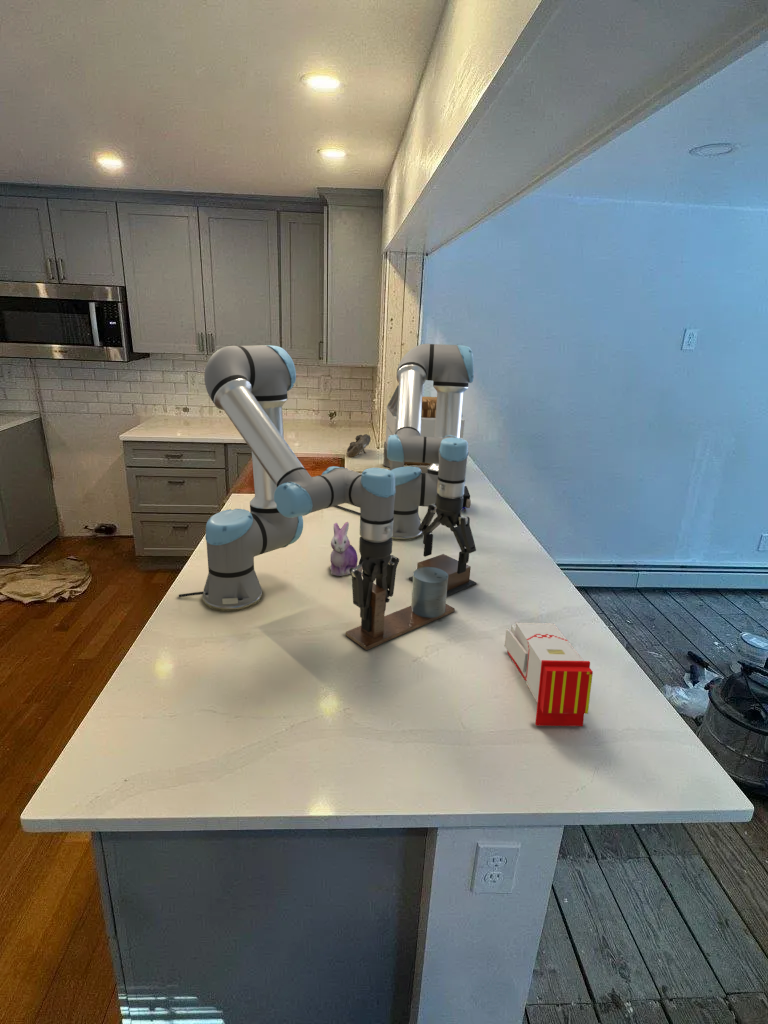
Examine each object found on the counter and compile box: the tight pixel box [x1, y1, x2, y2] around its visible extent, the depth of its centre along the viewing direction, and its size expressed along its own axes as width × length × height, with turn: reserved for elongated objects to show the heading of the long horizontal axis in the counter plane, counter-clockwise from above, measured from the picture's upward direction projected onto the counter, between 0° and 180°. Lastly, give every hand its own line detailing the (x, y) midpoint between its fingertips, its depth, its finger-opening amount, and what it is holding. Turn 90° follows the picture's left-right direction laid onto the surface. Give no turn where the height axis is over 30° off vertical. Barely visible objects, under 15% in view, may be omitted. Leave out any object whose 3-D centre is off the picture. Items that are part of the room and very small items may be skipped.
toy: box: [503, 622, 594, 727], centre depth 121 cm, size 12×13×30 cm
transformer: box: [383, 384, 465, 471], centre depth 268 cm, size 34×33×41 cm
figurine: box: [329, 521, 359, 577], centre depth 168 cm, size 9×10×15 cm
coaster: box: [408, 575, 477, 598], centre depth 166 cm, size 14×14×1 cm
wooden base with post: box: [345, 567, 455, 651], centre depth 141 cm, size 30×9×13 cm, turn 131°
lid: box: [416, 553, 472, 591], centre depth 165 cm, size 11×11×5 cm
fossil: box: [346, 433, 372, 458], centre depth 305 cm, size 22×10×15 cm
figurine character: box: [462, 485, 472, 513], centre depth 228 cm, size 7×8×15 cm
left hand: (372, 626), depth 136 cm, fingers closed on wooden base with post, 3 cm apart
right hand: (443, 563), depth 165 cm, fingers open, 13 cm apart
